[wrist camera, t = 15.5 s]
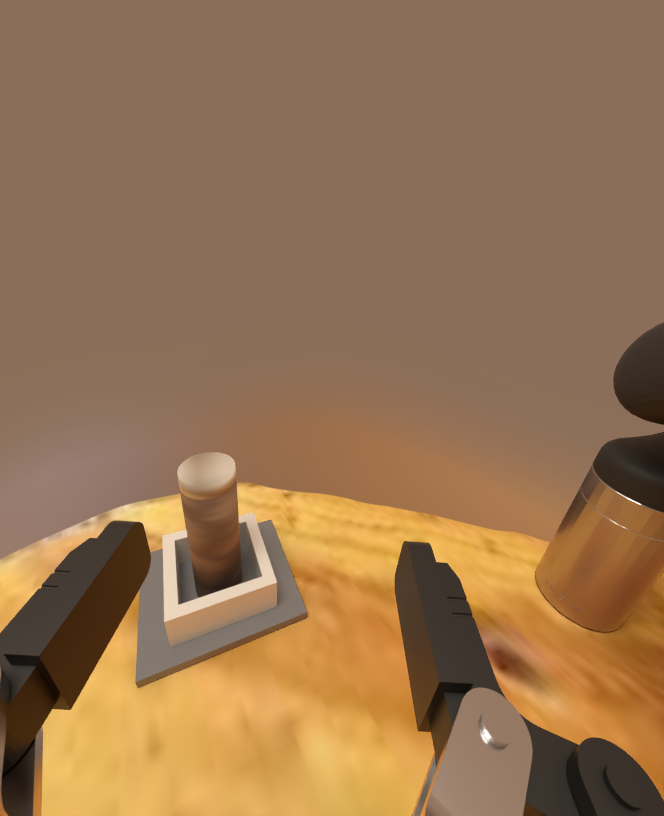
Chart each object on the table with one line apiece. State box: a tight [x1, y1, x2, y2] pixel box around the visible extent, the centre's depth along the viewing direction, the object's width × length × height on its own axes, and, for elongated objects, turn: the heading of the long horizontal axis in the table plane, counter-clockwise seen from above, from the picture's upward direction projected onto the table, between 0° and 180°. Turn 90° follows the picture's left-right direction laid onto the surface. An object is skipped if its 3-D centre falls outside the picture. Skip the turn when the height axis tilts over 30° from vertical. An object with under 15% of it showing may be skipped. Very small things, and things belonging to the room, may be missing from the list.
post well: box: [136, 512, 307, 688], centre depth 37 cm, size 16×14×5 cm
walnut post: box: [178, 452, 242, 598], centre depth 34 cm, size 5×5×16 cm
